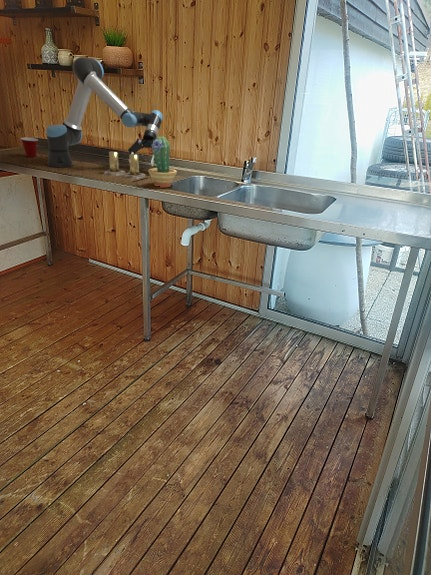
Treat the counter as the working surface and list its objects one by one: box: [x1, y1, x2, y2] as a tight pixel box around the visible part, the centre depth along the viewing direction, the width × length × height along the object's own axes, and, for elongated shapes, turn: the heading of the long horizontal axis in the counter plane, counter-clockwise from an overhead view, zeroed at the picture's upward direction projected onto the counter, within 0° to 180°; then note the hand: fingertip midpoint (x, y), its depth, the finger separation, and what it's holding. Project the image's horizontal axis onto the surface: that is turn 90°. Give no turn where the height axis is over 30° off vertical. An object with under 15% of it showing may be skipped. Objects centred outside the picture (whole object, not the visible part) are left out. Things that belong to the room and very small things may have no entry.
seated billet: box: [108, 151, 120, 173], centre depth 229 cm, size 5×5×12 cm
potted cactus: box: [147, 136, 178, 188], centre depth 211 cm, size 15×15×25 cm
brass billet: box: [128, 153, 140, 176], centre depth 224 cm, size 5×5×12 cm
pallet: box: [100, 169, 149, 183], centre depth 229 cm, size 23×14×3 cm, turn 65°
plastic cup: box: [20, 137, 39, 158], centre depth 271 cm, size 11×11×12 cm
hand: (140, 163), depth 232 cm, fingers open, 13 cm apart
